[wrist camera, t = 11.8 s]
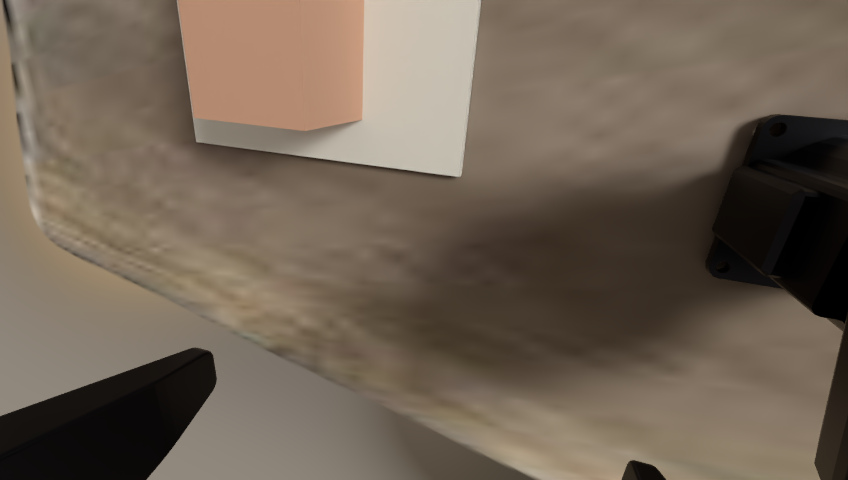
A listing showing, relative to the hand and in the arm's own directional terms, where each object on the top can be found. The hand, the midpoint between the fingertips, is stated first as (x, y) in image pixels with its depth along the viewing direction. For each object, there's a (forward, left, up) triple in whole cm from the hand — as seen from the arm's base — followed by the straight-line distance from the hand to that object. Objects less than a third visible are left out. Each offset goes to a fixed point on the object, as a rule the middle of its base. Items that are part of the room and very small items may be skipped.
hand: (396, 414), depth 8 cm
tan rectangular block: (+8, -9, -12) cm, 16 cm away
